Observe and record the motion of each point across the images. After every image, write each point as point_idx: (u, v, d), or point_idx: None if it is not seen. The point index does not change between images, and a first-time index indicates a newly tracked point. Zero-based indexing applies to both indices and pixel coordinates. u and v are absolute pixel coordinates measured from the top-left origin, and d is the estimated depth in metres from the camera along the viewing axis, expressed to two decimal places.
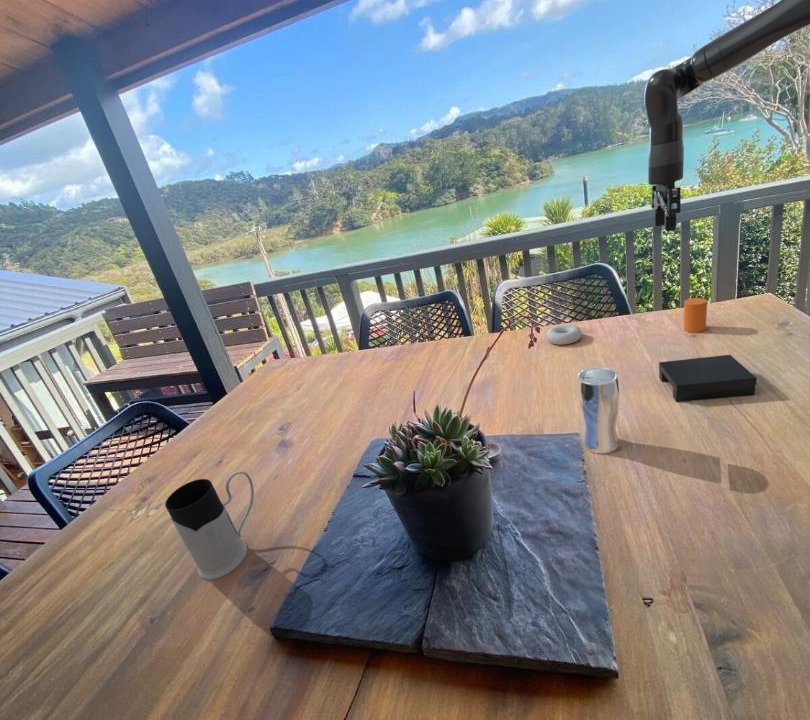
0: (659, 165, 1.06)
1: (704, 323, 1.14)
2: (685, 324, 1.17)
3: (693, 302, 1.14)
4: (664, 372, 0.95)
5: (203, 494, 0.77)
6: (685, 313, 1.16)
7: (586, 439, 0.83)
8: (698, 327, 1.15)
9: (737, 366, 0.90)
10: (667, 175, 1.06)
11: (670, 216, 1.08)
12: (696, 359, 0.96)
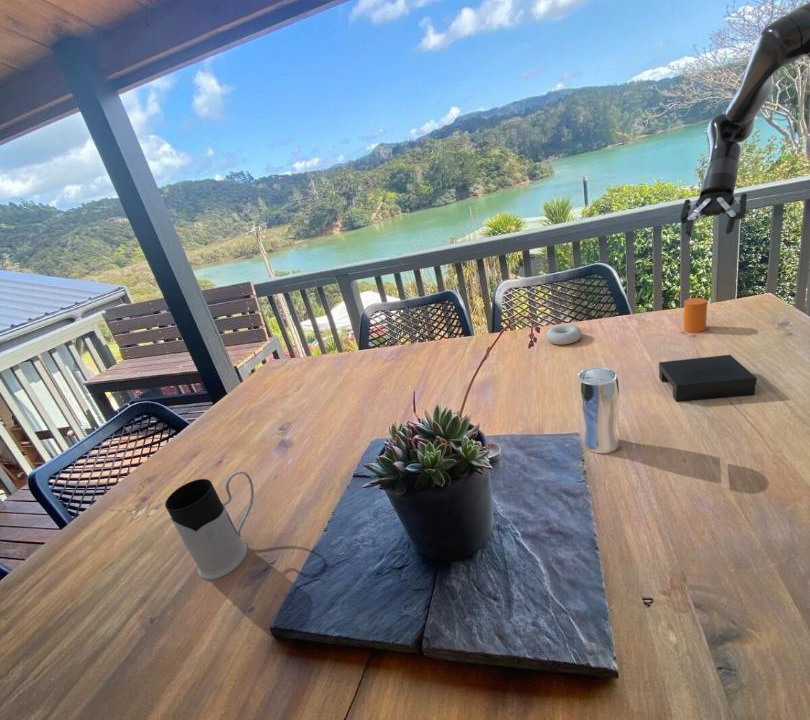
0: None
1: (704, 323, 1.14)
2: (685, 324, 1.17)
3: (693, 302, 1.14)
4: (664, 372, 0.95)
5: (203, 494, 0.77)
6: (685, 313, 1.16)
7: (586, 439, 0.83)
8: (698, 327, 1.15)
9: (737, 366, 0.90)
10: None
11: (687, 223, 1.20)
12: (696, 359, 0.96)
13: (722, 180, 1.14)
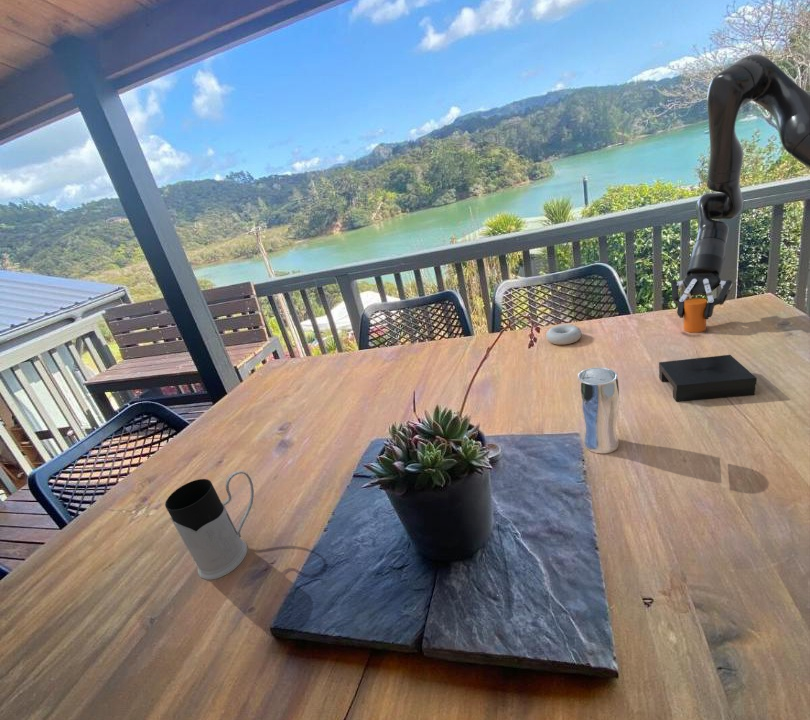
0: None
1: (704, 323, 1.14)
2: (685, 324, 1.17)
3: (693, 302, 1.14)
4: (664, 372, 0.95)
5: (203, 494, 0.77)
6: (685, 313, 1.16)
7: (586, 439, 0.83)
8: (698, 327, 1.15)
9: (737, 366, 0.90)
10: None
11: (679, 304, 1.18)
12: (696, 359, 0.96)
13: (708, 262, 1.13)
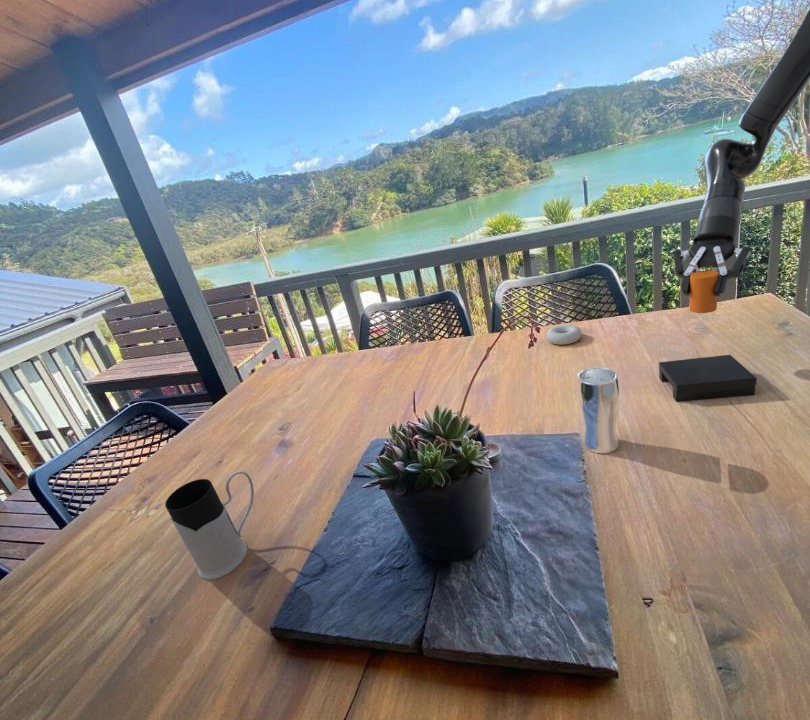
0: None
1: (715, 301, 0.93)
2: (691, 303, 0.95)
3: (701, 275, 0.92)
4: (664, 372, 0.95)
5: (203, 494, 0.77)
6: (691, 289, 0.94)
7: (586, 439, 0.83)
8: (707, 306, 0.93)
9: (737, 366, 0.90)
10: None
11: None
12: (696, 359, 0.96)
13: (720, 225, 0.92)
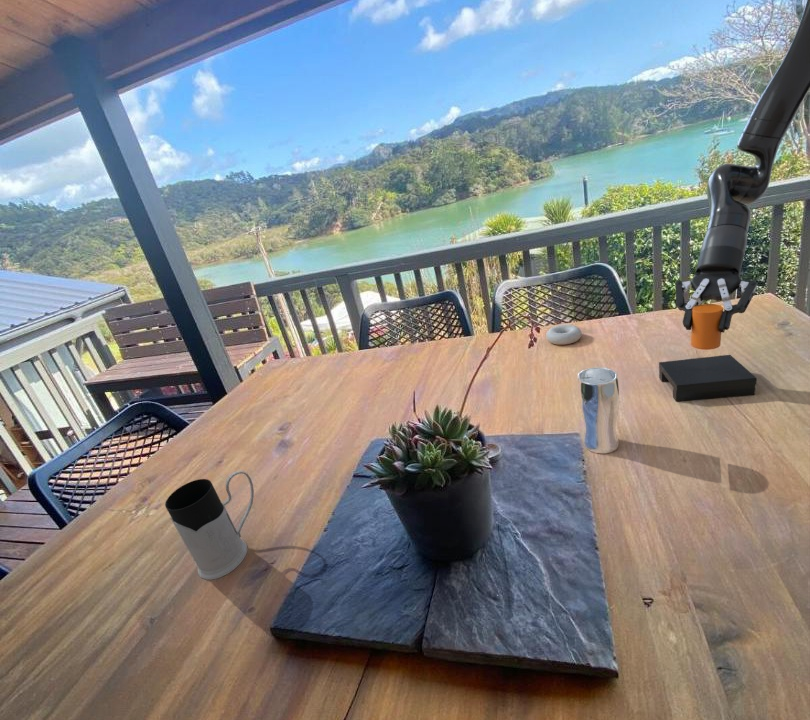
0: None
1: (719, 337, 0.86)
2: (693, 338, 0.89)
3: (704, 310, 0.86)
4: (664, 372, 0.95)
5: (203, 494, 0.77)
6: (693, 324, 0.88)
7: (586, 439, 0.83)
8: (710, 343, 0.87)
9: (737, 366, 0.90)
10: None
11: None
12: (696, 359, 0.96)
13: (724, 256, 0.85)
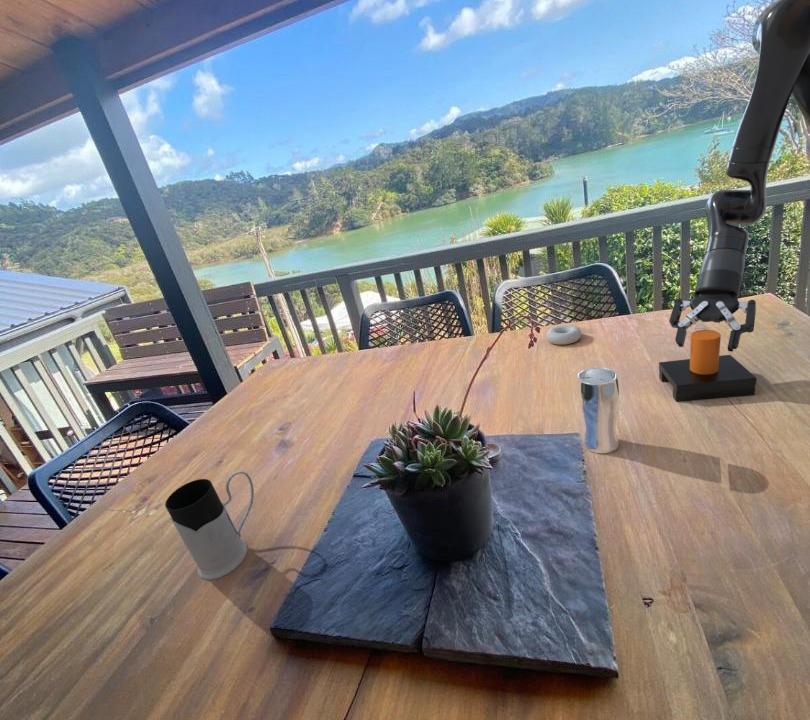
0: None
1: (716, 363, 0.89)
2: (692, 363, 0.91)
3: (702, 336, 0.88)
4: (664, 372, 0.95)
5: (203, 494, 0.77)
6: (692, 349, 0.90)
7: (586, 439, 0.83)
8: (708, 368, 0.89)
9: (737, 366, 0.90)
10: None
11: (678, 329, 0.93)
12: None
13: (723, 280, 0.87)
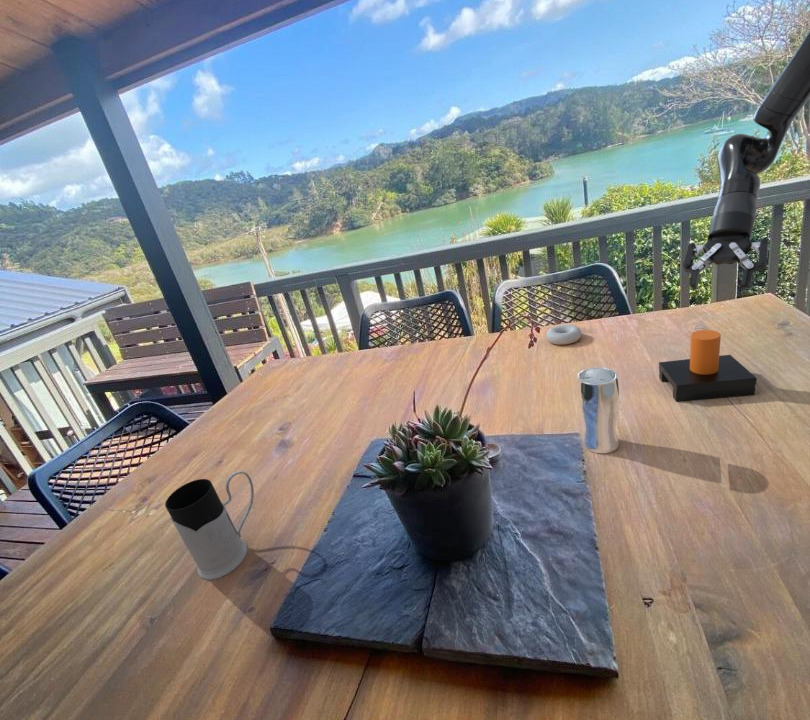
0: None
1: (716, 363, 0.89)
2: (692, 363, 0.91)
3: (702, 336, 0.88)
4: (664, 372, 0.95)
5: (203, 494, 0.77)
6: (692, 349, 0.90)
7: (586, 439, 0.83)
8: (708, 368, 0.89)
9: (737, 366, 0.90)
10: None
11: None
12: None
13: (736, 221, 0.90)
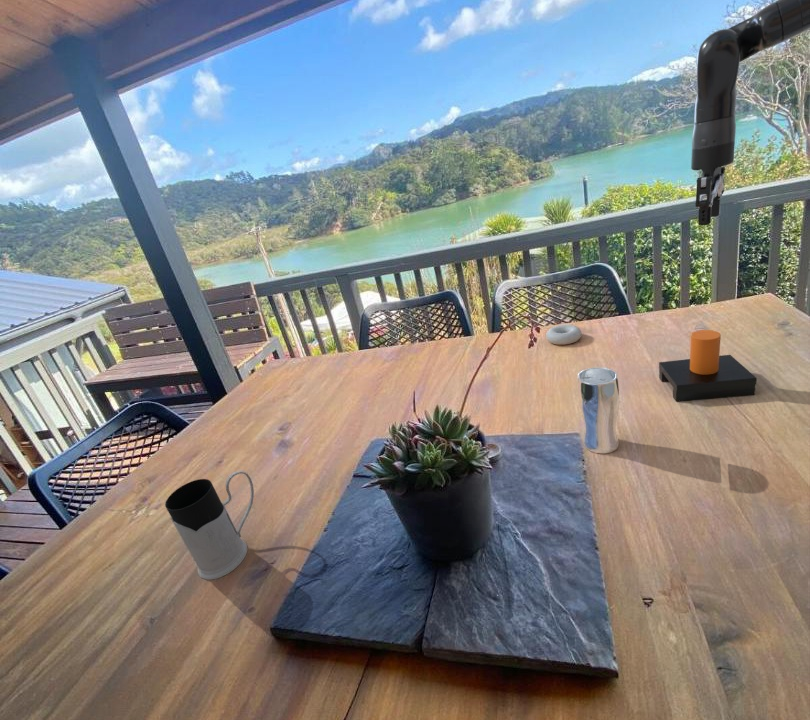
0: (696, 148, 0.92)
1: (716, 363, 0.89)
2: (692, 363, 0.91)
3: (702, 336, 0.88)
4: (664, 372, 0.95)
5: (203, 494, 0.77)
6: (692, 349, 0.90)
7: (586, 439, 0.83)
8: (708, 368, 0.89)
9: (737, 366, 0.90)
10: (704, 160, 0.92)
11: (701, 208, 0.94)
12: None
13: None
